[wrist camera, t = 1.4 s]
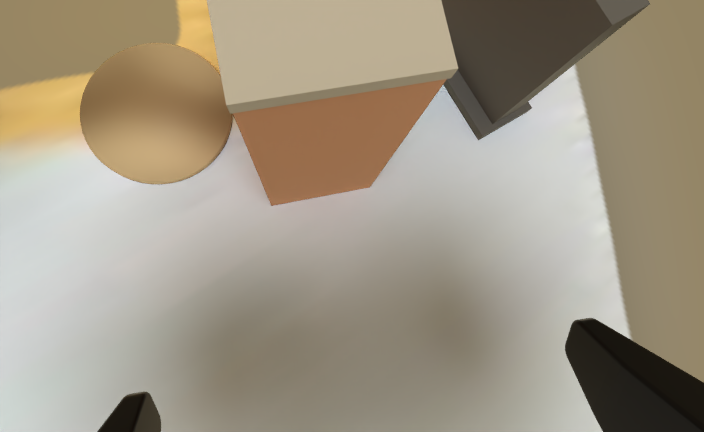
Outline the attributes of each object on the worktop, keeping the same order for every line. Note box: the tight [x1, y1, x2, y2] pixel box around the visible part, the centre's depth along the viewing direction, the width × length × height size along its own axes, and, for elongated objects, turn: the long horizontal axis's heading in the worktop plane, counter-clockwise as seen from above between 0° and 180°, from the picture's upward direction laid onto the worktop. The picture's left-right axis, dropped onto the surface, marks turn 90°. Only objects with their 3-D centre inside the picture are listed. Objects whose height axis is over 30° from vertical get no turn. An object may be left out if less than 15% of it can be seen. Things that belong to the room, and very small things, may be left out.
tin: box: [207, 0, 458, 206], centre depth 17 cm, size 5×5×13 cm
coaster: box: [80, 43, 232, 184], centre depth 22 cm, size 7×7×1 cm
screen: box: [441, 0, 650, 140], centre depth 20 cm, size 8×3×10 cm, turn 31°
